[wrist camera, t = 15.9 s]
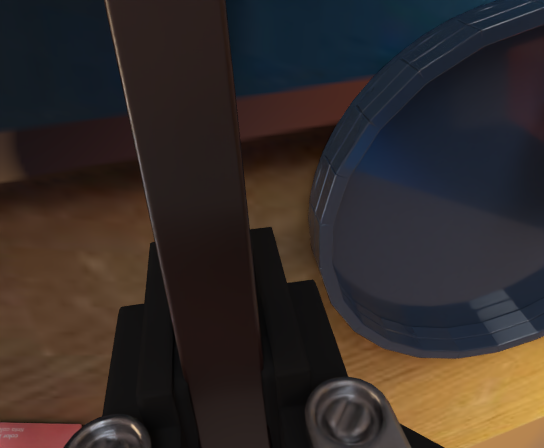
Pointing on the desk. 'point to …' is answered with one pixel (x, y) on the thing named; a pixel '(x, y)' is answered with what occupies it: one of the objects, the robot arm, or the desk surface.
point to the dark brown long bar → (196, 204)
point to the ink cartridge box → (36, 435)
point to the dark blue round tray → (441, 191)
